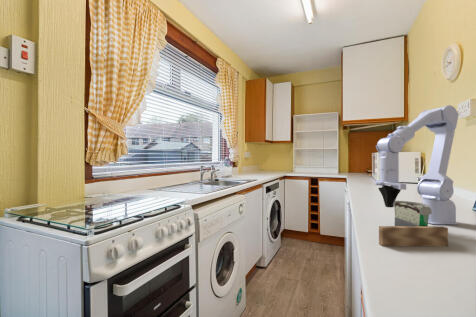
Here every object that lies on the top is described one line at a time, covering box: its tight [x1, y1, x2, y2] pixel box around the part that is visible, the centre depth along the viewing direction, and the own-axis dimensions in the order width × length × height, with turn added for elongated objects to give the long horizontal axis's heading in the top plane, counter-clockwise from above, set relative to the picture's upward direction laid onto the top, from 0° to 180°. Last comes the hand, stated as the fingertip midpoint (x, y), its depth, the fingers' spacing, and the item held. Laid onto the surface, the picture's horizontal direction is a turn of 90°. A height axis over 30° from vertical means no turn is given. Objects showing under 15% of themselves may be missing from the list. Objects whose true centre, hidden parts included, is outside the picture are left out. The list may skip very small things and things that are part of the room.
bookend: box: [394, 217, 419, 226], centre depth 70 cm, size 6×10×5 cm, turn 0°
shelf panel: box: [378, 225, 449, 247], centre depth 64 cm, size 18×2×5 cm, turn 90°
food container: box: [392, 200, 432, 226], centre depth 72 cm, size 12×6×10 cm, turn 0°
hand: (389, 207), depth 85 cm, fingers closed
